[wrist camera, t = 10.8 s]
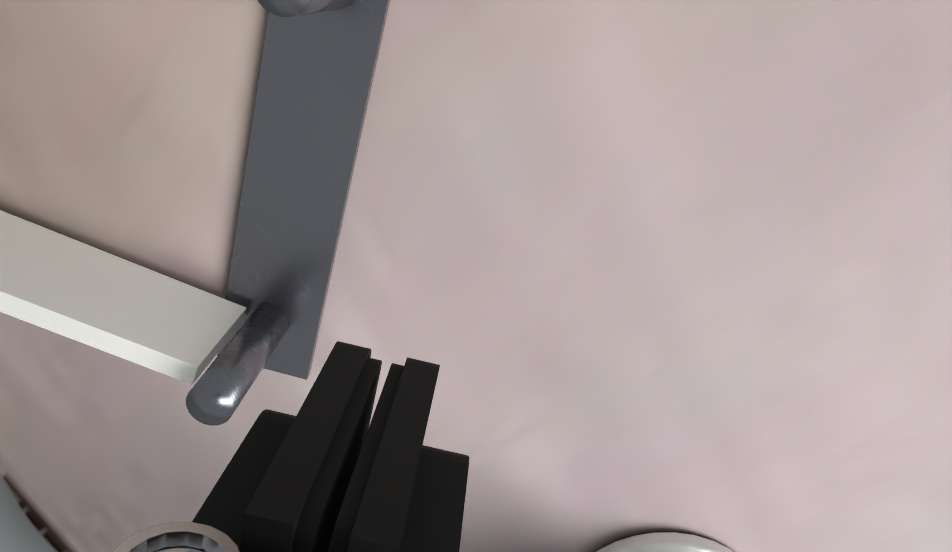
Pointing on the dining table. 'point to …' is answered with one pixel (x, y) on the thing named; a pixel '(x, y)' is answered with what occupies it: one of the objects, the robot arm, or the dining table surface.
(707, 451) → the dining table surface
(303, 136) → the gate frame
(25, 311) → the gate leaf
